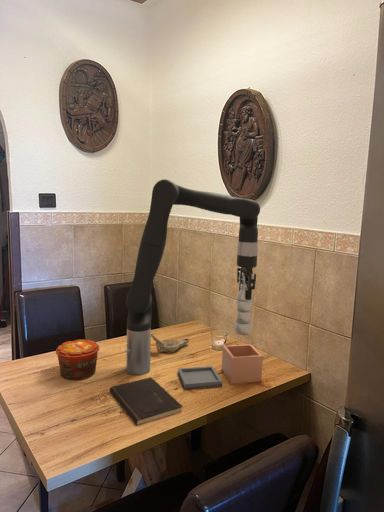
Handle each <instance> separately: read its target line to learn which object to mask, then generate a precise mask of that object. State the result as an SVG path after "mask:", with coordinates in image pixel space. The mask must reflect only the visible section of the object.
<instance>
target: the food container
mask: <svg viewBox="0 0 384 512" xmlns="http://www.w3.org/2000/svg"><path fill="white" fill-rule="evenodd" d="M99 351H100V345H99V344H98V343H96V341H93V340H91V339H90V340H89V339H87V340H86V339H75V340H72V341H71V340H68V341H65V342H63V343H61V344H59V345H58V347H57V348H56V350H55V353H56V355H57V360H58V365H59V370H60V376H61V377H62V378H63V379H64V380H67V381H79V380H85V379H88V378H91V377H92V376H94V375H95V373H96V370H97V363H98V362H97V361H98V354H99Z"/></svg>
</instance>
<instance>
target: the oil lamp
mask: <svg viewBox="0 0 384 512" xmlns="http://www.w3.org/2000/svg"><path fill="white" fill-rule="evenodd" d="M151 337H152V339H153V341H155V346H156V351H157V352H159V353H161V352H164V353H168V352H171V353H174V352H176V351H177V350H178V349H179V348H180V347H182V346H185V345H187V344H188V343H189V342H190V339H189V338H180V339H173V338H169V339H168V338H167V339H163V340H161V339H159V338H158V337H156V336H155V335H154V334H153V333H151Z"/></svg>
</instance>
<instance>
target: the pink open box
mask: <svg viewBox="0 0 384 512" xmlns="http://www.w3.org/2000/svg"><path fill="white" fill-rule="evenodd" d="M221 357H222V359H221V370H222V372H223V374H224V375H225V377H226V378H227V380H228V381H229V382H230V384H232V385H233V384H244V383H253V382H254V383H255V382H262V381H263V380H262V378H263V376H262V375H263V363H264V358H263V357H264V356H263V354H261V352H259V351H258V350H257V348H255V347H254V346H253V344H250V343H249V344H233V345H232V344H231V345H222V354H221Z"/></svg>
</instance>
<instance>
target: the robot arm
mask: <svg viewBox="0 0 384 512" xmlns="http://www.w3.org/2000/svg"><path fill="white" fill-rule="evenodd" d="M150 199H151V200H150V207H149V212H148V217H147V219H146V223H145V225H144V229H143V233H142V235H141V240H140V244H139V247H138V250H137V251H138V252H137V257H136V264H135V270H134V276H133V278H132V279H133V280H132V282H131V286H130V288H129V290H128V291H129V292H128V294H127V296H126V299H125V304H126V308H127V309H128V311H127V313H128V314H127V319H126V320H127V321H126V346H125V347H126V348H125V349H126V351H125V352H126V355H125V356H126V359H125V360H126V374H131V375H145V374H148V373H149V372H150V370H151V346H152V345H151V337H152V336H151V334H152V332H151V328H152V327H151V326H152V314H153V312H152V311H153V310H152V309H153V306H152V305H153V297H152V290H153V289H152V288H153V283H154V280H155V277H156V275H157V272H158V270H159V267H160V265H161V262H162V258H163V256H164V251H165V247H166V243H167V237H168V236H167V235H168V225H169V224H168V223H169V218H170V215H171V212H172V208H173V206H174V205H175V206H185V207H187V206H188V207H193V208H196V209H201V210H205V211H208V212H212V213H216V214H221V215H229V216H235V217H238V218H239V228H238V229H239V230H238V242H237V249H236V250H237V252H236V267H237V268H236V283H238V292H239V291H240V290H241V288H240V286H241V283H242V282H244V284H245V288H246V290H245V299H246V300H251V296H252V295H253V293H252V292H253V290H255V289H256V281H257V274H256V273H253V270H254V269H253V268H256V267H258V266H257V265H258V252H259V249H258V248H259V247H258V239H259V238H258V236H259V229H258V218H259V217H258V216H259V215H260V213H261V206H260V204H259V203H258V202H257V201H256V200H253V199H249V198H248V199H247V198H241V197H235V196H232V195H228V194H224V193H218V192H211V191H205V190H204V191H203V190H196V189H190V188H187V187H184V186H182V185H179V184H176V183H174V182H173V181H172V180H170V179H165V178H164V179H161V180H158V181H157V182H156V183H155V184H154V185H153V187H152V192H151V198H150ZM247 284H248V285H247Z"/></svg>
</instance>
